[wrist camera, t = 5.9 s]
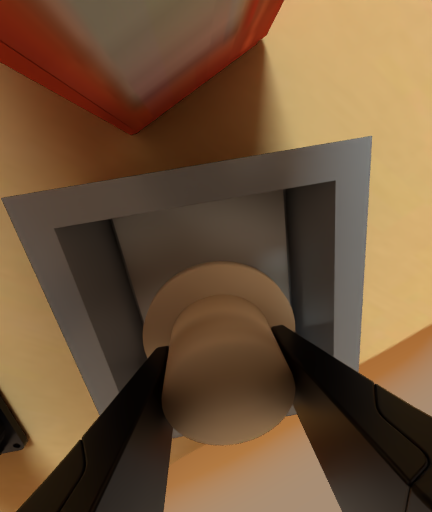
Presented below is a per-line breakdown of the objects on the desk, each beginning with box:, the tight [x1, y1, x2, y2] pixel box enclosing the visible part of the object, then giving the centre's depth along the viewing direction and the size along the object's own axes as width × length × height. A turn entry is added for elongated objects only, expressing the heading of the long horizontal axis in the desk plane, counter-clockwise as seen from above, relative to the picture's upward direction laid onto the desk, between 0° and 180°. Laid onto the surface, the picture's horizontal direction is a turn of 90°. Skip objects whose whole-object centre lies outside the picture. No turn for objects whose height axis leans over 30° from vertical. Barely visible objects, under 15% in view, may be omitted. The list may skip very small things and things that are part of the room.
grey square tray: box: [1, 136, 372, 438], centre depth 12 cm, size 12×12×6 cm
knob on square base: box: [112, 189, 295, 445], centre depth 10 cm, size 9×9×8 cm
